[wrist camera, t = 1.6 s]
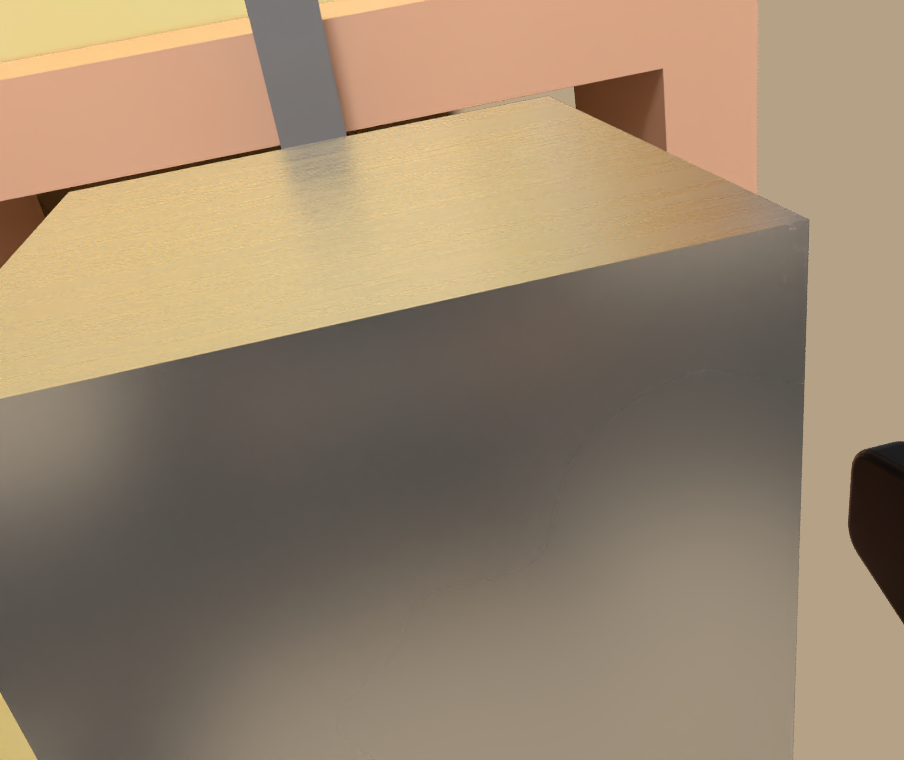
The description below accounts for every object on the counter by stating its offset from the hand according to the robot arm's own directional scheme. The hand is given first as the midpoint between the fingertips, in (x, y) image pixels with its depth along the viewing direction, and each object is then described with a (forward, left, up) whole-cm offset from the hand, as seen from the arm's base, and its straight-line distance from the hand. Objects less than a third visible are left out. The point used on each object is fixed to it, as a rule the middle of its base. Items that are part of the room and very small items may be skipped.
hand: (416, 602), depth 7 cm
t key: (0, 0, -6) cm, 6 cm away
